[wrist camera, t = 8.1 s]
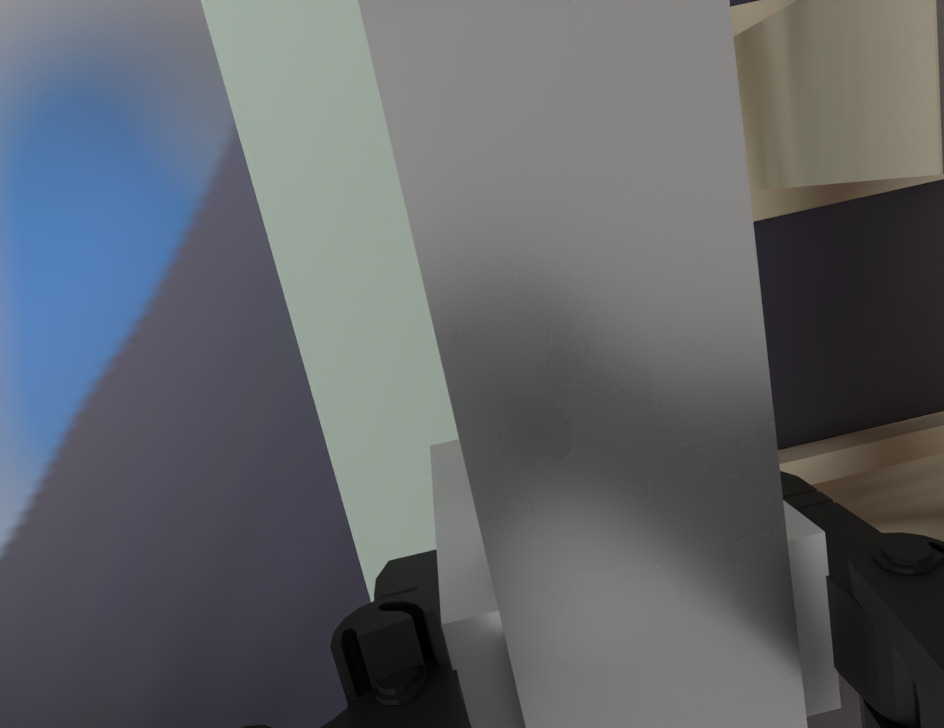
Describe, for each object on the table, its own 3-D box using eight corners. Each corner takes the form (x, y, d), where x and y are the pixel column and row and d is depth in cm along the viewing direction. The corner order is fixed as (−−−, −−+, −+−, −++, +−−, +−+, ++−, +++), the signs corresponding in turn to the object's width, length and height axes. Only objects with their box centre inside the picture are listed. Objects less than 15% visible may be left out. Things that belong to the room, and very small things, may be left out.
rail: (752, 981, 14) (861, 1227, 11) (595, 1023, 14) (654, 1285, 10) (579, -187, 9) (681, -443, 5) (329, -139, 9) (273, -365, 5)
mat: (420, 764, 24) (420, 778, 23) (206, 5, 18) (200, -2, 17) (732, 686, 24) (740, 698, 24) (626, -81, 18) (633, -91, 18)
